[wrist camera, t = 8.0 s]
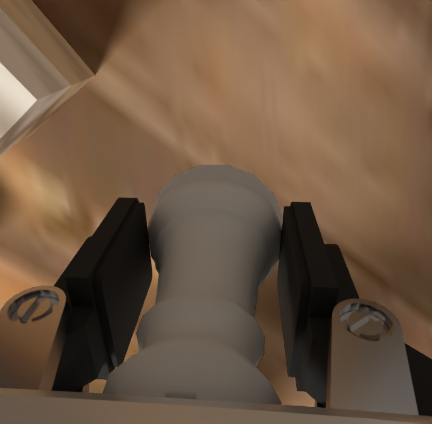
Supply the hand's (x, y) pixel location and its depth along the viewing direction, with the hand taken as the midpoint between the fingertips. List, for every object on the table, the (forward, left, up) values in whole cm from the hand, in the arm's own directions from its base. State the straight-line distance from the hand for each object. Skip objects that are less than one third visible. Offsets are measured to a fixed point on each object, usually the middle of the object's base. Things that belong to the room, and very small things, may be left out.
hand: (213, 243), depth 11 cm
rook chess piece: (0, 0, -2) cm, 2 cm away
